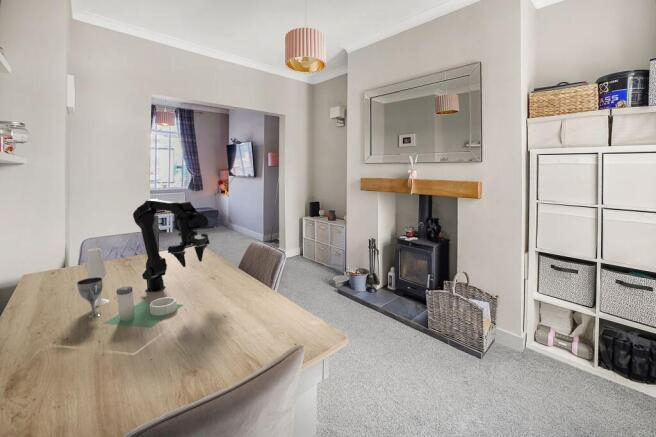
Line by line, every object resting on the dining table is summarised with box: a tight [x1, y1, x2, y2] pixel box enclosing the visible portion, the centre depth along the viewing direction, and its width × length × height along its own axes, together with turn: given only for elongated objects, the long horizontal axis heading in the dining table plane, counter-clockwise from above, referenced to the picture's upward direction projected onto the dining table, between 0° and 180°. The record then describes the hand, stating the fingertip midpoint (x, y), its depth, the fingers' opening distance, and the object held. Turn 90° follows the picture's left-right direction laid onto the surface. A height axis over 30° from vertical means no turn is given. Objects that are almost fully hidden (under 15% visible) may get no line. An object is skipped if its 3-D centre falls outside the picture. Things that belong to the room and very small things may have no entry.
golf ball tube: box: [115, 286, 135, 321], centre depth 124 cm, size 5×5×12 cm
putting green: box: [103, 296, 184, 329], centre depth 129 cm, size 20×20×4 cm
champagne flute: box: [86, 247, 110, 307], centre depth 139 cm, size 7×7×24 cm
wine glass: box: [76, 277, 104, 319], centre depth 126 cm, size 8×8×15 cm
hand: (192, 264), depth 144 cm, fingers open, 9 cm apart
